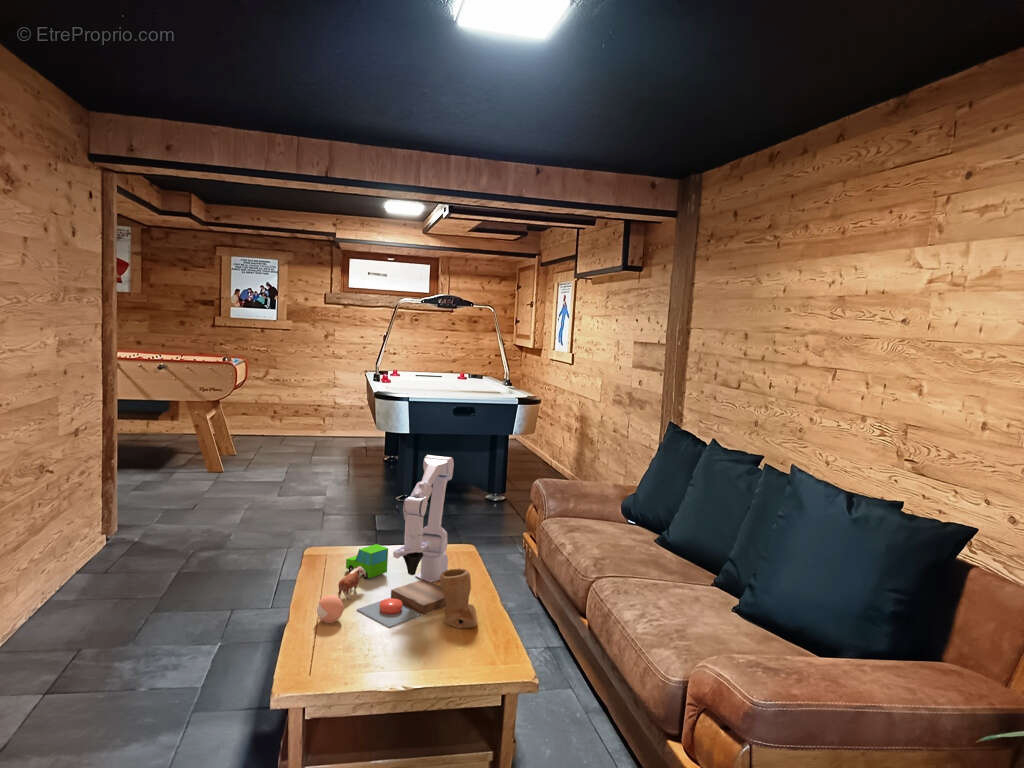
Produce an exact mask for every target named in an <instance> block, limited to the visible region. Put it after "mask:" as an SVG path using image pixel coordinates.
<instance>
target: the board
mask: <svg viewBox="0 0 1024 768" xmlns="http://www.w3.org/2000/svg"><path fill="white" fill-rule="evenodd" d="M390 598H394V599H399V600H401V601H402V604H403V605H405V606H407V607H409V608H411V609H413V610H415V611H417V612H419V613H421V614H423V615H422V616H424V615H426V613H427V614H430V613H432V612H434V610H435V611H437V610H439V609H440V610H441V609H443V608H446V607H447V604H446V601H445V597H444V594H443V591H442V588H441V585H438V584H435V583H434V582H429V581H426V580H424V579H419V580H416V581H413V582H410V583H407V584H404V585H402V586H398V587H396V588H393V589H391V590H390ZM429 612H430V613H429Z"/></svg>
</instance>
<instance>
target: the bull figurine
mask: <svg viewBox="0 0 1024 768" xmlns="http://www.w3.org/2000/svg"><path fill="white" fill-rule="evenodd" d="M362 574H366V572H365V571H364V569H363V568H362V567H361V566H359V567H355V569H354V570H353V571H352V572H348V574H347V575H345V576H344V577H343V578H342V579H341V580H340V581H339V582H338V593H337V595H338V596H337V597H338V598H340V599H341V600H342V598H341V595H342V593H343V595H344V597H345V598H347V600H352V597H351V596H350V592H353V594H355V595H356V594H358V593H357V587H358V585H359V582H360V577H361V576H363V575H362Z"/></svg>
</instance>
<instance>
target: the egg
mask: <svg viewBox="0 0 1024 768" xmlns="http://www.w3.org/2000/svg"><path fill="white" fill-rule="evenodd" d="M340 598H341V597H340ZM340 598H338V596H337V595H334V594H329V595H325V596H323V597H322V598H320V599H319V600H318V602H319V603H318V605H317V607H316V613H317V615H318V617H319V618H318V619H319V621H321V622H322V623H324V624H325V623H326V624H331V623H334V622H335V623H336V621H338V620H339V619H340V618H341V616H343V613H344V602H343V601H342V598H341V599H340Z"/></svg>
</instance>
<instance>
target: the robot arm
mask: <svg viewBox="0 0 1024 768" xmlns="http://www.w3.org/2000/svg"><path fill="white" fill-rule="evenodd" d="M422 463H423V465H422V466H423V467H422V468H423V476H422V479H421V481H418V482H417V483H416V485H415V487H414V488H413V490H412V492H411V494H410V496H408V497H405V499H404V502H403V508H402V511H403V520H404V542H403V543H404V544H403V545H402V546H401V547H399V548H397V549H396V550H394V551H393V555H392V556H393V557H392V558H395V559H399V558H400V557H402V558H403V560H404V563H405V565H406V569H407V574H408V575H410V576H414V577H415V578H417V579H419V580H422V579H424V580H426V581H429V582H431V583H434V582H437V581H441V580H440V576H441V574H442V573H443V572H444V571H446V570H448V568H449V565H448V564H449V558H448V554H447V553H446V551H447V548H448V532H447V531H446V529H444V528H443V527H442V519H443V513H444V503H445V497H446V490H447V489H446V488H447V484H448V481H451V480H452V478H453V475H454V474H453V473H454V466H455V464H454V463H455V462H454V458H453V457H452V456H450V457H449V456H440V455H431V454H427V455H426V456H424V459H423V462H422ZM430 496H431V497H430ZM429 498H430V506H429V510H428V511H429V513H428V521H427V525H426V526H424V516H425V514H426V512H427V508H428V507H427V506H428V505H429V504H428V500H429ZM419 563H420V573H419V574H418V573H417V574H416V571H417V570H418V569H417V568H418V567H419Z"/></svg>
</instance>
